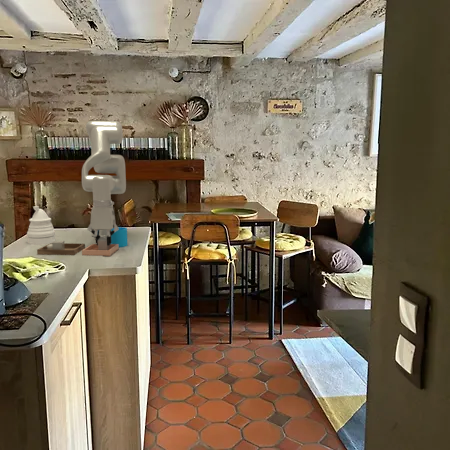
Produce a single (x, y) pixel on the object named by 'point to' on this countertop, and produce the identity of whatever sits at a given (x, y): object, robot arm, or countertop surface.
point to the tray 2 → (95, 251)
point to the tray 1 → (69, 250)
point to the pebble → (50, 247)
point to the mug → (119, 237)
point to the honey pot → (40, 228)
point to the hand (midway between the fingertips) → (103, 244)
